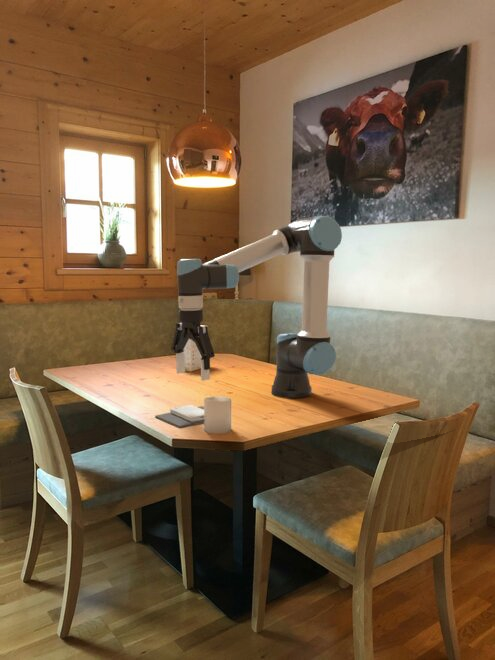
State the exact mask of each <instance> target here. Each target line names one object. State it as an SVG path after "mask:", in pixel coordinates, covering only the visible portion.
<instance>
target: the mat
mask: <svg viewBox="0 0 495 660" xmlns="http://www.w3.org/2000/svg"><path fill="white" fill-rule="evenodd" d="M197 407H198V408H200V409H203V410H204V405H203V406H202V405H200V406H197ZM154 417H155V418H156V419H158V420H161V421H162V420H163V422H165V423H167V424H169V423H170V425H171V426H174V427H175V428H176V427H177V428H178V429H181V428H185V427H190V426H194V425H199V424H204V420H200V421H195V422H191V421H189V420H186V419H184V418H182V417H179V416H177V415H175V414H172V413H170V412H166V413H162V414H156V415H154Z"/></svg>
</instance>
